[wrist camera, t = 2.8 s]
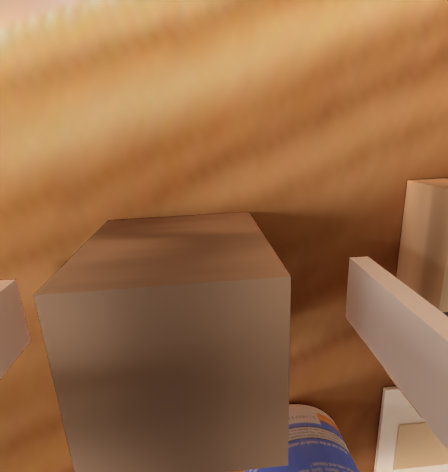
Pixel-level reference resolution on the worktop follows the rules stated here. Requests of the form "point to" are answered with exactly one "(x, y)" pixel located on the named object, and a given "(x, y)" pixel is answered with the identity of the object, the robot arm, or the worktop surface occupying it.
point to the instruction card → (406, 438)
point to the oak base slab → (425, 242)
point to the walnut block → (171, 346)
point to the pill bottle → (313, 444)
